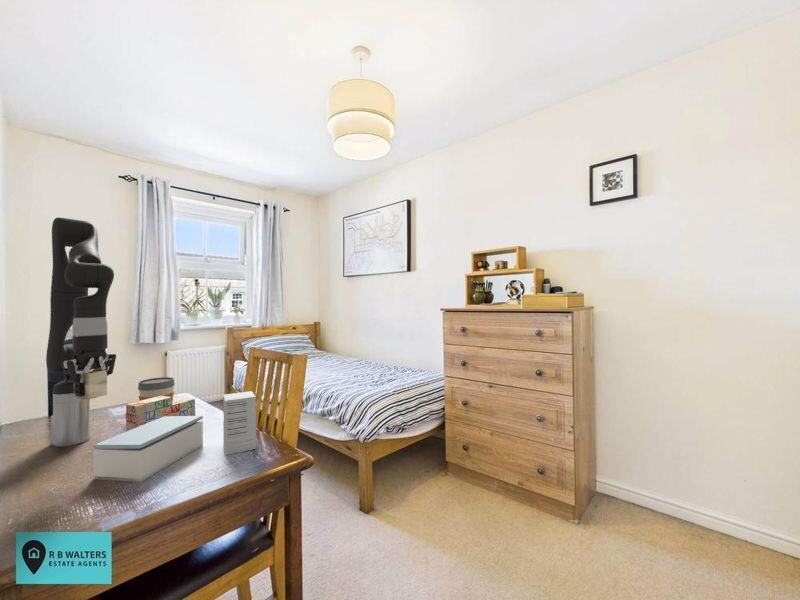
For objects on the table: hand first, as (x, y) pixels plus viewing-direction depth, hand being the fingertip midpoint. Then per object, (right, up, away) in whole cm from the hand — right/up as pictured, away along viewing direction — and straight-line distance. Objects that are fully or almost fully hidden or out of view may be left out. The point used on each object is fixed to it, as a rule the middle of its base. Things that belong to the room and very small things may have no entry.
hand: (90, 393), depth 101 cm
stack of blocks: (0, -22, +31) cm, 38 cm away
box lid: (+14, -13, +5) cm, 20 cm away
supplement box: (+36, -22, +15) cm, 44 cm away
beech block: (0, -1, 0) cm, 1 cm away
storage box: (+14, -21, +5) cm, 26 cm away
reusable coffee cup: (-14, -22, +47) cm, 54 cm away
